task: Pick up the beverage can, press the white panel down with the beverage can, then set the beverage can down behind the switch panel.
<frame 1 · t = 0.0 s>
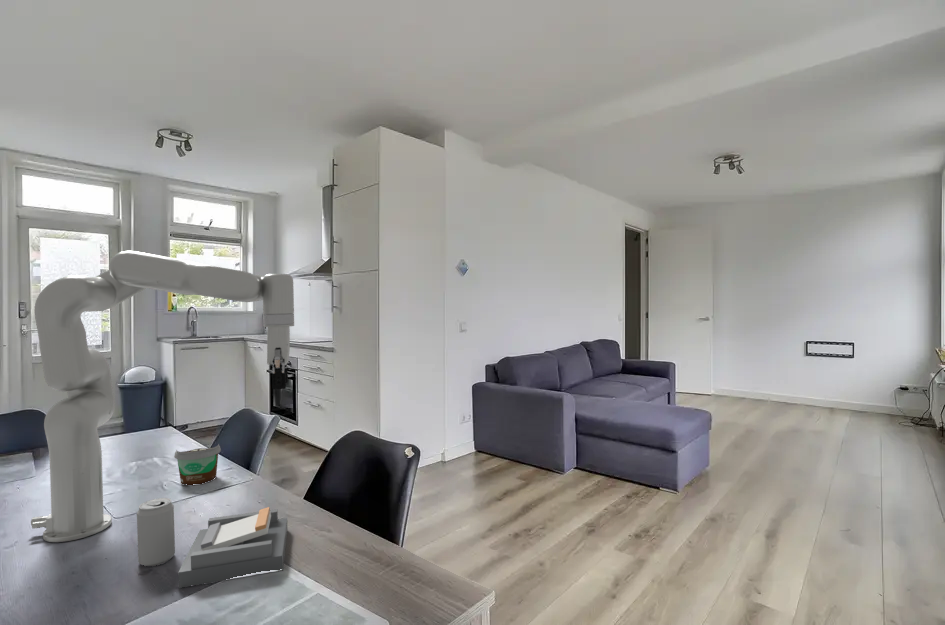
hand: (280, 385, 128), 31 cm above the table, tool pointing down, fingers open, 9 cm apart
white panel: (238, 529, 101), point 6 cm above the table, hinge at -11.0°
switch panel: (239, 556, 101), on the table
beverage can: (157, 561, 100), on the table
food container: (198, 483, 144), on the table
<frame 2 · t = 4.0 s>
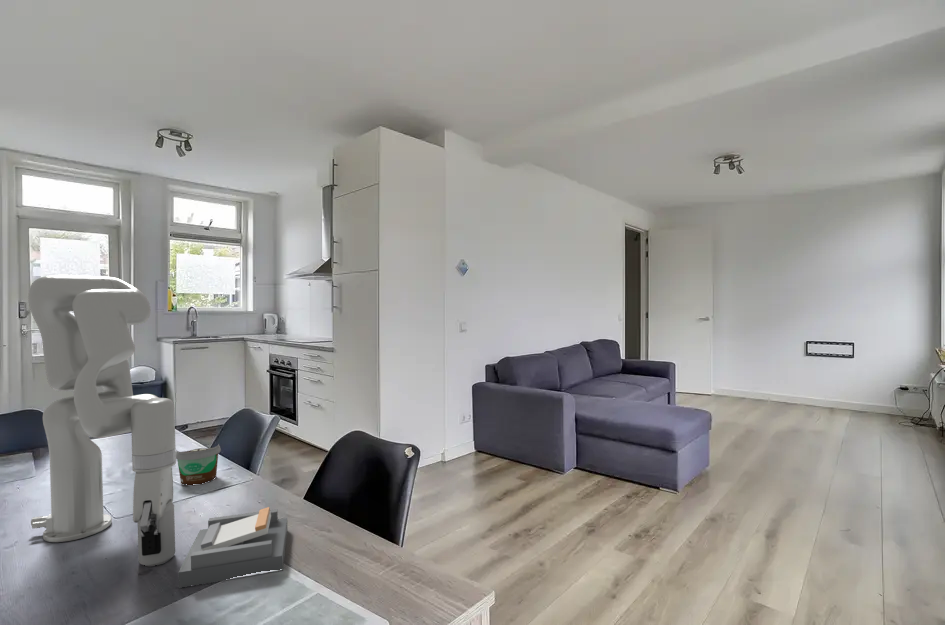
hand: (157, 545, 100), 3 cm above the table, tool pointing down, fingers closed on beverage can, 6 cm apart
beverage can: (157, 561, 100), on the table, touching gripper
everything else where it was.
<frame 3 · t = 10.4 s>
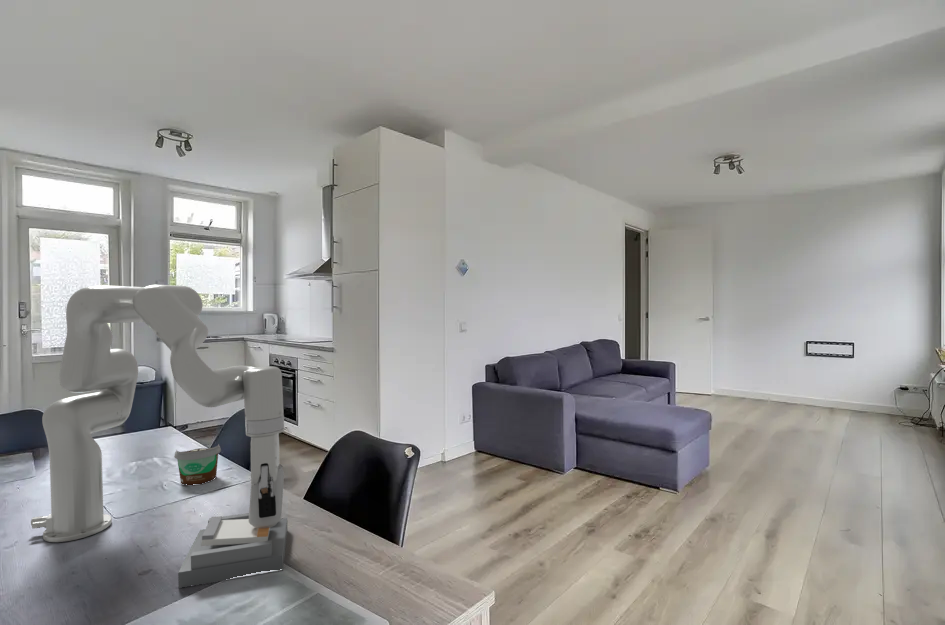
hand: (269, 509, 103), 9 cm above the table, tool pointing down, fingers closed on beverage can, 6 cm apart
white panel: (238, 529, 101), point 6 cm above the table, hinge at 6.0°, touching beverage can
beverage can: (264, 524, 103), point 6 cm above the table, touching gripper, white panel
everything else where it was.
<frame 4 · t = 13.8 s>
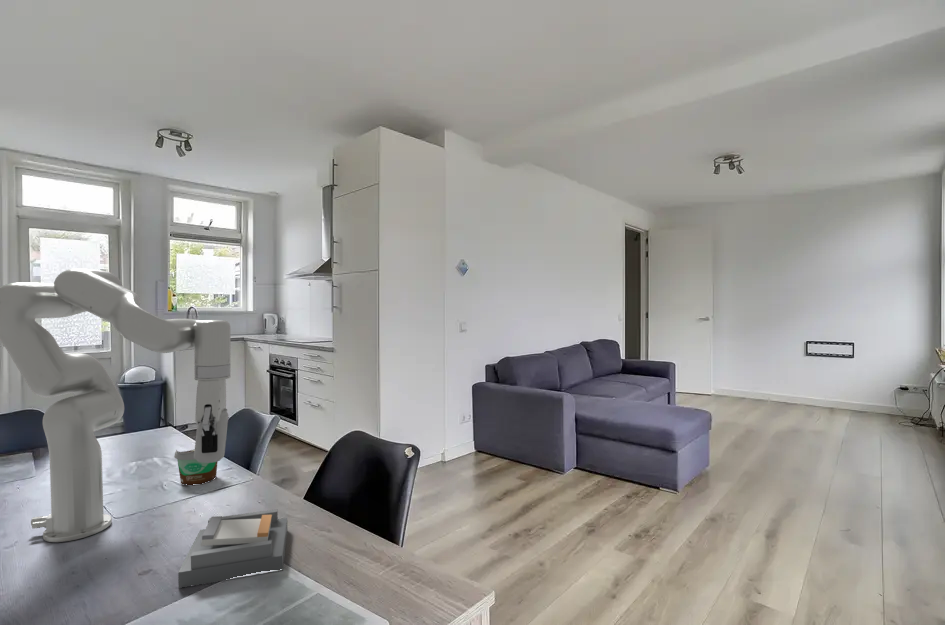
hand: (212, 447, 115), 19 cm above the table, tool pointing down, fingers closed on beverage can, 6 cm apart
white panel: (238, 529, 101), point 6 cm above the table, hinge at 6.4°
beverage can: (208, 460, 115), point 16 cm above the table, touching gripper
everything else where it was.
when the fingers open (4 cm above the table, at t = 17.3 s): beverage can drops 1 cm, on the table.
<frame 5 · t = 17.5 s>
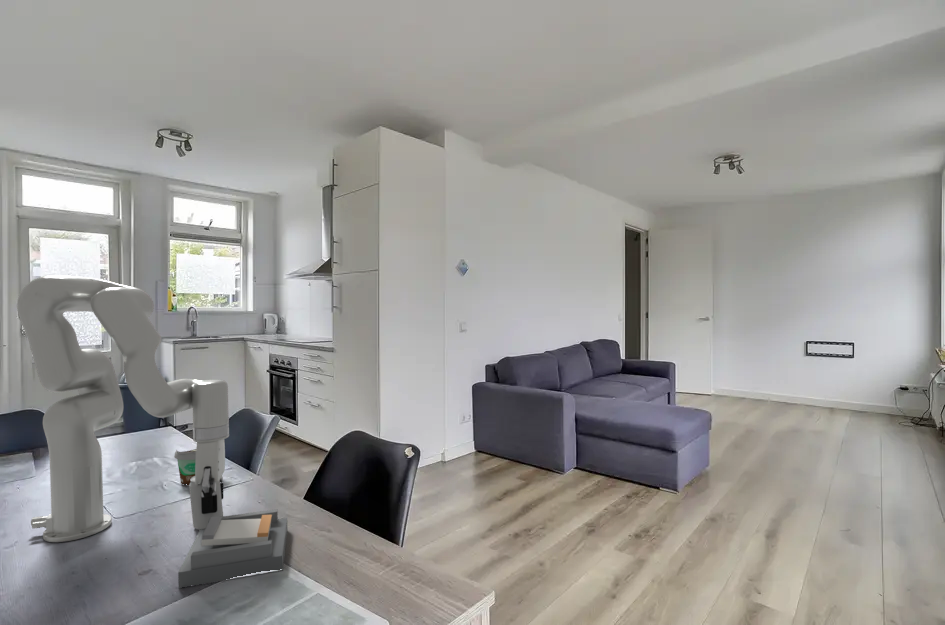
hand: (212, 505, 116), 5 cm above the table, tool pointing down, fingers open, 7 cm apart
beverage can: (208, 525, 116), on the table
everything else where it was.
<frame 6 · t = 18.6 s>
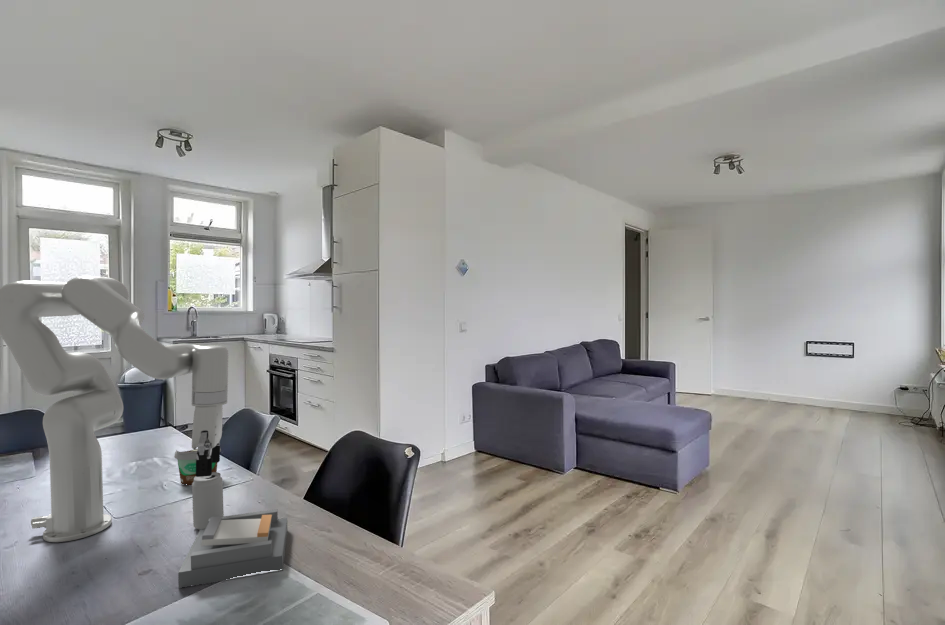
hand: (208, 468, 116), 14 cm above the table, tool pointing down, fingers open, 9 cm apart
nothing on the table moved.
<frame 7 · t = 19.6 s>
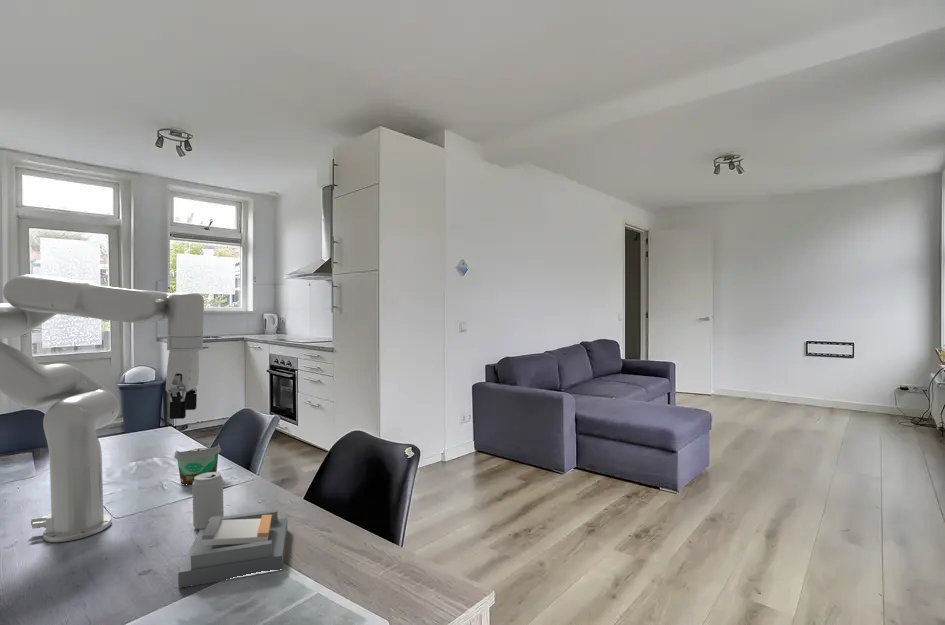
hand: (183, 413, 118), 26 cm above the table, tool pointing down, fingers open, 9 cm apart
nothing on the table moved.
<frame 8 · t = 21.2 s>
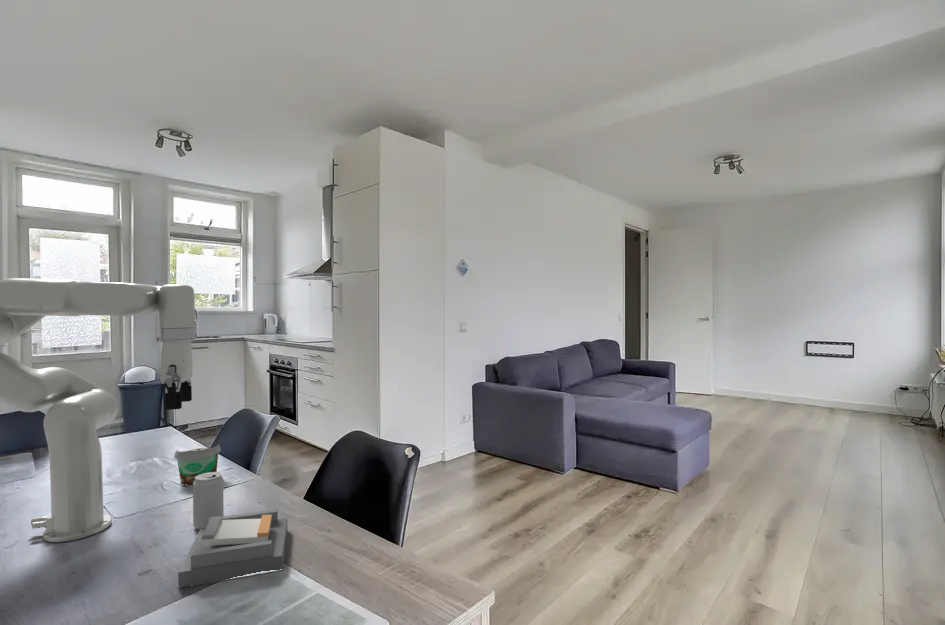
hand: (179, 405, 119), 28 cm above the table, tool pointing down, fingers open, 9 cm apart
nothing on the table moved.
at the end: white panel at +6° (first picture: -11°); beverage can inside the target area (1.1 cm from its centre), on the table; beverage can tilted 1° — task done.
